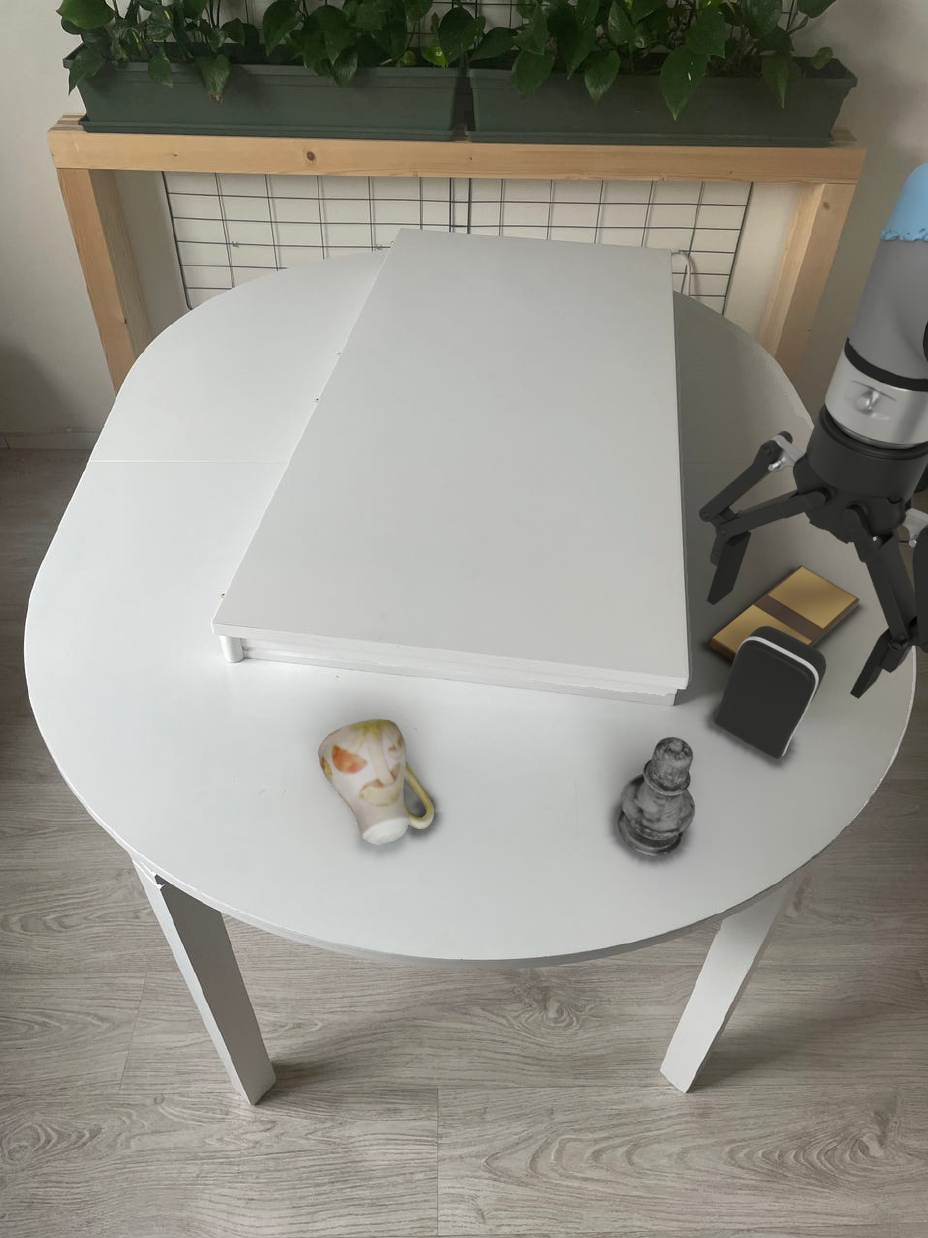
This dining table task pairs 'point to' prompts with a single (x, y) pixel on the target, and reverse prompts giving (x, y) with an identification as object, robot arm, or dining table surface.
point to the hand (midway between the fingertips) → (787, 639)
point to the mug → (373, 778)
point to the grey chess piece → (659, 800)
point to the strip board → (790, 612)
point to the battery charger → (770, 689)
